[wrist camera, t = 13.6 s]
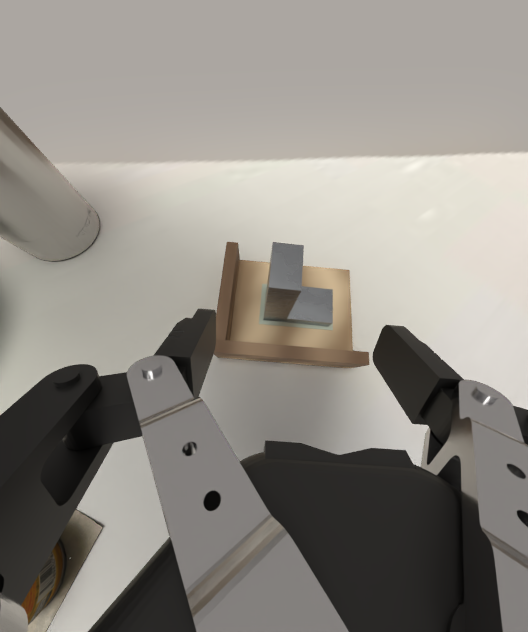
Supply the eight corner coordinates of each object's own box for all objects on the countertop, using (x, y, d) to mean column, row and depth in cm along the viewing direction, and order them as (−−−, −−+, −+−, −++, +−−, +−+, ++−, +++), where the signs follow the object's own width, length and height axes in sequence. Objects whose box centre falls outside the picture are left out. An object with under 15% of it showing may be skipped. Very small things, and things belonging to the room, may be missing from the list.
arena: (218, 357, 25) (216, 356, 24) (230, 263, 29) (229, 258, 28) (349, 368, 25) (353, 367, 24) (346, 273, 29) (349, 269, 28)
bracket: (263, 320, 25) (268, 287, 17) (266, 288, 27) (272, 242, 18) (328, 326, 26) (366, 297, 17) (328, 294, 27) (364, 252, 18)
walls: (216, 356, 24) (210, 351, 21) (230, 259, 28) (226, 241, 24) (353, 367, 24) (369, 364, 21) (349, 270, 28) (362, 254, 25)
